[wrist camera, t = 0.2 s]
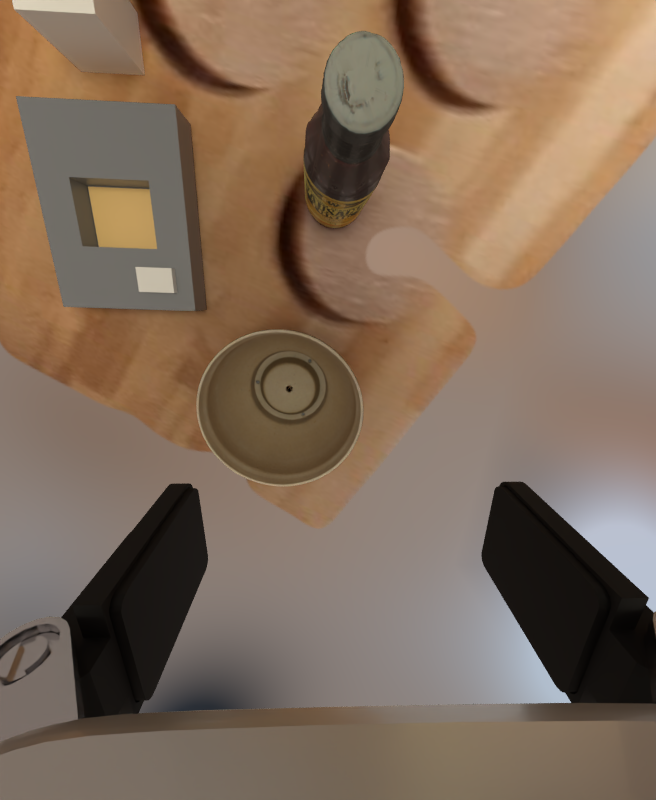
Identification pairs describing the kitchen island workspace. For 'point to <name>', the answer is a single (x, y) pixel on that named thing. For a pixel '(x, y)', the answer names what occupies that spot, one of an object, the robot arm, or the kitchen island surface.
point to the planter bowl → (279, 407)
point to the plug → (89, 32)
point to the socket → (117, 202)
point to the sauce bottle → (351, 128)
